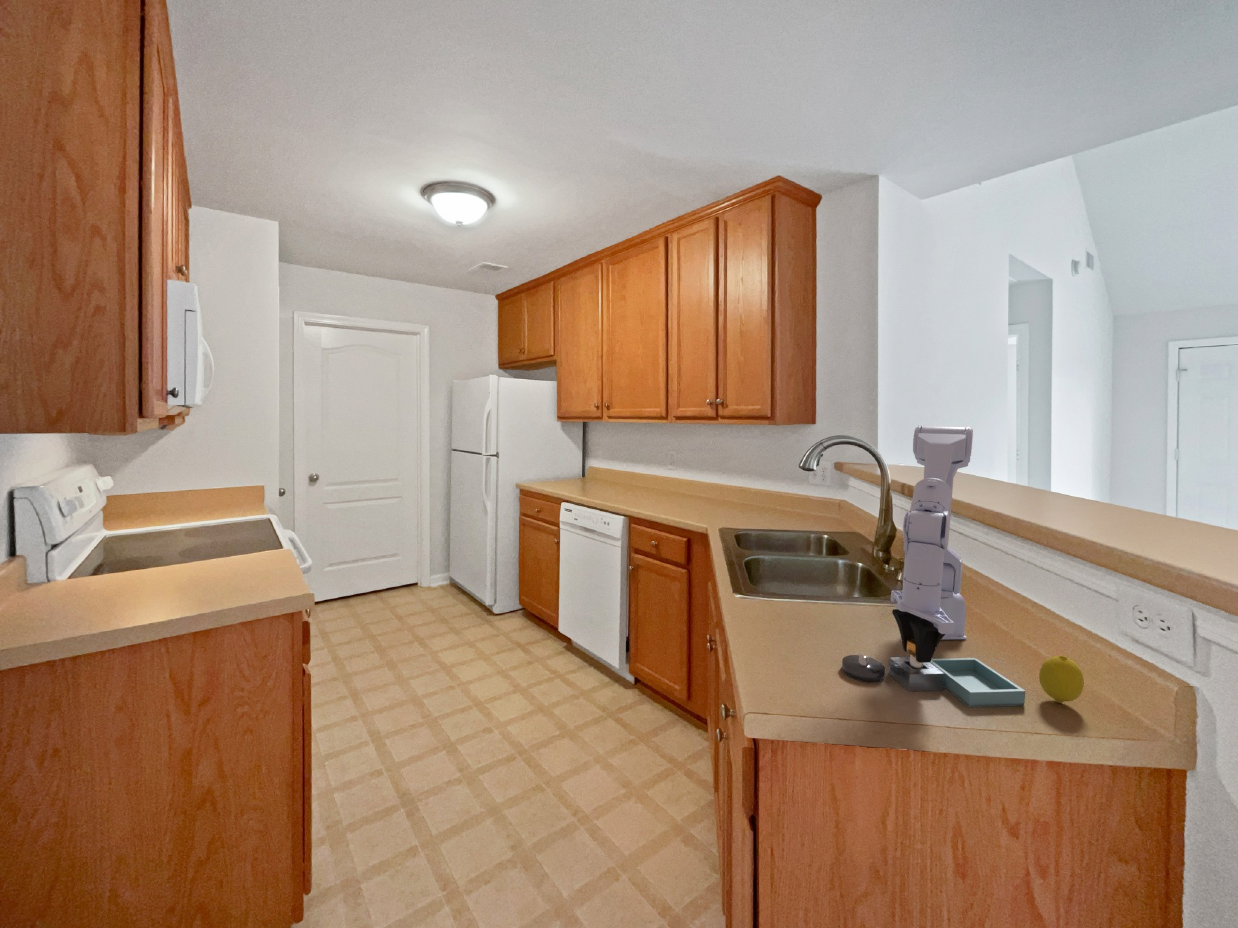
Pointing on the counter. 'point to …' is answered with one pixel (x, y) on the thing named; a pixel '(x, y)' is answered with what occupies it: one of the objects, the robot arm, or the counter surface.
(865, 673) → the dark disc and block
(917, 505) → the robot arm
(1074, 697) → the lemon
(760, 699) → the counter surface
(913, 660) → the lock pin
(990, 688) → the tray
